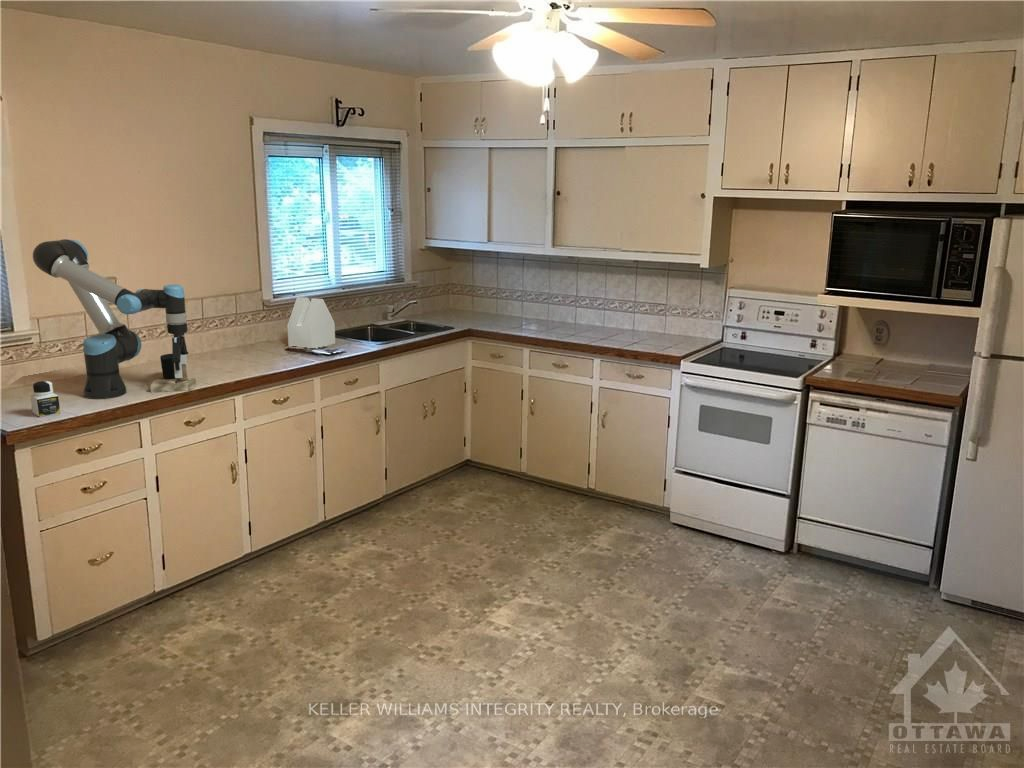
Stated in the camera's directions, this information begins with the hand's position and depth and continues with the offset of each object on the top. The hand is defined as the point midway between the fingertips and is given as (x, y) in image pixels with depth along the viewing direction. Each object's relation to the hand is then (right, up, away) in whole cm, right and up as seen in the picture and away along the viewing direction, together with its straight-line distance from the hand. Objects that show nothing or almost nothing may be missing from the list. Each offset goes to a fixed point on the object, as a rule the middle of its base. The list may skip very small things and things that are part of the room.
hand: (181, 373), depth 322 cm
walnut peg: (0, -6, +2) cm, 6 cm away
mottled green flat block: (-4, -6, +1) cm, 7 cm away
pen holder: (-11, -2, +18) cm, 21 cm away
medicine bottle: (-35, -15, -35) cm, 52 cm away
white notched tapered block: (+31, +16, +91) cm, 97 cm away
